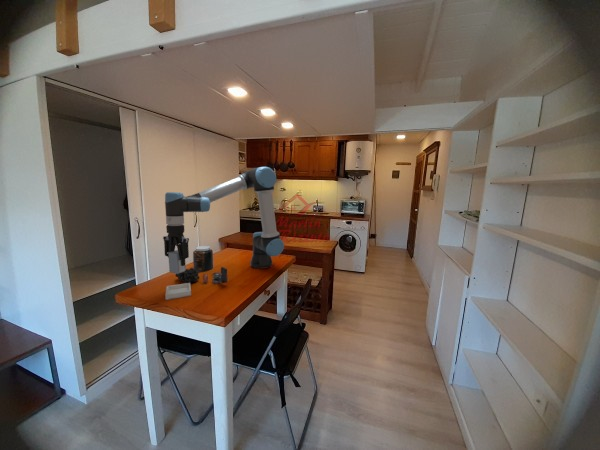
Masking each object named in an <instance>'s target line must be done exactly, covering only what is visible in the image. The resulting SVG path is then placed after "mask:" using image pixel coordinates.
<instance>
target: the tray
mask: <svg viewBox="0 0 600 450" xmlns="http://www.w3.org/2000/svg"><path fill="white" fill-rule="evenodd" d="M191 287H192V286H191V282H189V283H187V282H184V283H181V284H173V285H172V284H171V285H167V286H166V287H165V288H166V289H165V295H164V296H165V301H167V300H174V299H179V298H185V297H191V296H192V289H191Z"/></svg>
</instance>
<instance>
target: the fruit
mask: <svg viewBox="0 0 600 450" xmlns="http://www.w3.org/2000/svg"><path fill="white" fill-rule="evenodd" d="M199 273H200V272H199V271H198V270H195V269H194V268H193V267H190V269H189V268H186V271H184V272H181V273H179V274H176V273H175V275H174V276H175V277H176V278H177V279H178V280H179V281H180V282H184V283H193V282H194V283H196V282H198V280H200V276H199Z"/></svg>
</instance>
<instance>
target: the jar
mask: <svg viewBox="0 0 600 450" xmlns="http://www.w3.org/2000/svg"><path fill="white" fill-rule="evenodd" d="M213 251H214V250H213V249H212V248H211V247H210V245H209V246H208V245H200V246H196V247H195V250H194V251H193V253H192V260H193V261H192V263H193V267H192V268H193V269H195V270H198V271H199V273H204V272H210V271H211V270H213V269H214V252H213Z"/></svg>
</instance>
